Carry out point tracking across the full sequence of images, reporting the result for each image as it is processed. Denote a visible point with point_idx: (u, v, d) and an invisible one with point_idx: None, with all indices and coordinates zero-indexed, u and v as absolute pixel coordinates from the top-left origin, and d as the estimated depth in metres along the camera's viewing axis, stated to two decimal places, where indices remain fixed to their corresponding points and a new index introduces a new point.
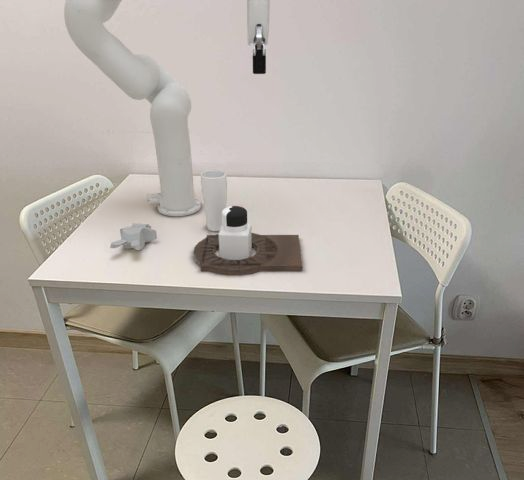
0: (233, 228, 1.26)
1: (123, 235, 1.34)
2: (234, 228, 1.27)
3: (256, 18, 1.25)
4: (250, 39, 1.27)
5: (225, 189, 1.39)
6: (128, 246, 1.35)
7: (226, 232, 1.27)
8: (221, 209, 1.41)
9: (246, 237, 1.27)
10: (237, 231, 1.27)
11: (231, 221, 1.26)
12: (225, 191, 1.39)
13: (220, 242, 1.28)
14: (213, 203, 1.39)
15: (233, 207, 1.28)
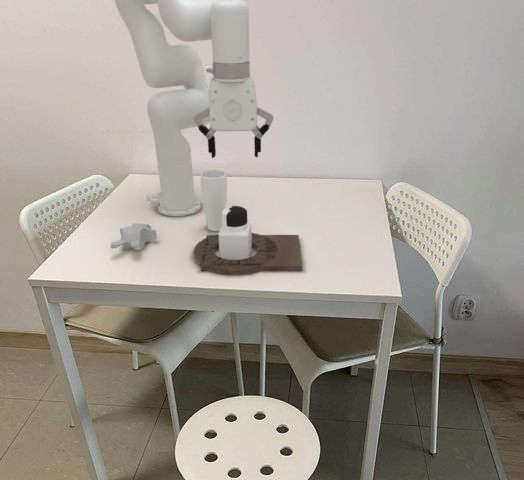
0: (233, 228, 1.26)
1: (123, 235, 1.34)
2: (234, 228, 1.27)
3: None
4: (256, 123, 1.15)
5: (225, 189, 1.39)
6: (128, 246, 1.35)
7: (226, 232, 1.27)
8: (221, 209, 1.41)
9: (246, 237, 1.27)
10: (237, 231, 1.27)
11: (231, 221, 1.26)
12: (225, 191, 1.39)
13: (220, 242, 1.28)
14: (213, 203, 1.39)
15: (233, 207, 1.28)
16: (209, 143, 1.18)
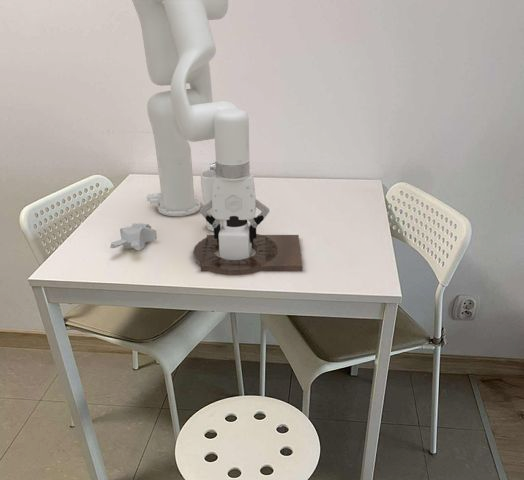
0: (233, 228, 1.26)
1: (123, 235, 1.34)
2: (234, 228, 1.27)
3: None
4: (255, 213, 1.25)
5: None
6: (128, 246, 1.35)
7: (226, 232, 1.27)
8: None
9: (246, 237, 1.27)
10: (237, 231, 1.27)
11: (231, 221, 1.26)
12: None
13: (220, 242, 1.28)
14: None
15: None
16: (215, 231, 1.29)
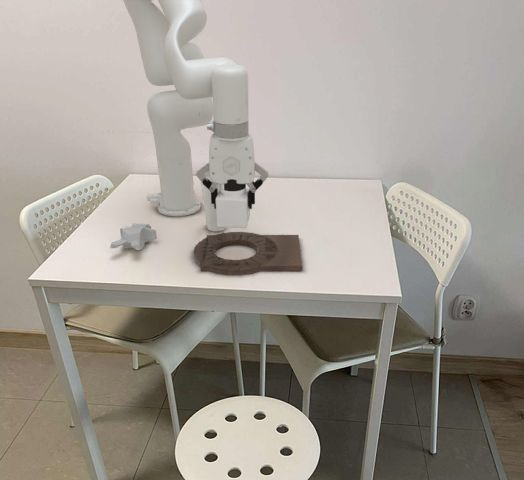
0: (230, 192, 1.22)
1: (123, 235, 1.34)
2: (232, 192, 1.22)
3: None
4: None
5: None
6: (128, 246, 1.35)
7: (223, 197, 1.23)
8: None
9: (244, 202, 1.22)
10: (235, 196, 1.23)
11: (228, 185, 1.21)
12: None
13: (217, 207, 1.24)
14: None
15: None
16: (212, 195, 1.24)
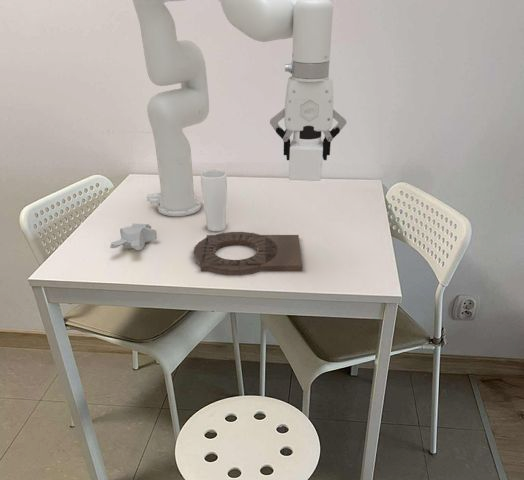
0: (306, 140, 1.14)
1: (123, 235, 1.34)
2: (308, 141, 1.15)
3: None
4: None
5: (225, 189, 1.39)
6: (128, 246, 1.35)
7: (298, 146, 1.15)
8: (221, 209, 1.41)
9: (321, 151, 1.15)
10: (310, 145, 1.15)
11: (305, 132, 1.14)
12: (225, 191, 1.39)
13: (291, 157, 1.16)
14: (213, 203, 1.39)
15: None
16: (285, 145, 1.17)
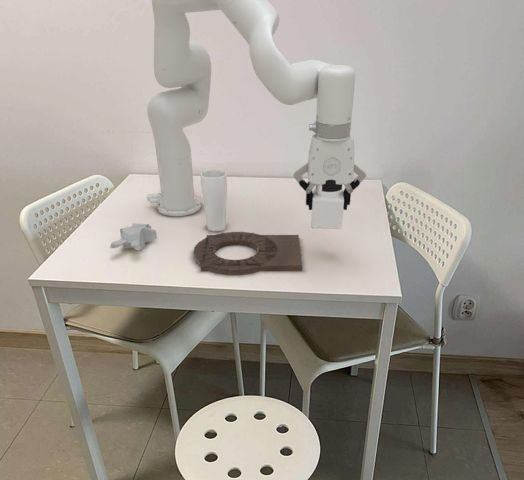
0: (328, 193, 1.21)
1: (123, 235, 1.34)
2: (330, 193, 1.21)
3: None
4: (352, 177, 1.20)
5: (225, 189, 1.39)
6: (128, 246, 1.35)
7: (321, 198, 1.22)
8: (221, 209, 1.41)
9: (342, 203, 1.22)
10: (332, 196, 1.22)
11: (327, 186, 1.20)
12: (225, 191, 1.39)
13: (314, 208, 1.23)
14: (213, 203, 1.39)
15: None
16: (308, 197, 1.24)
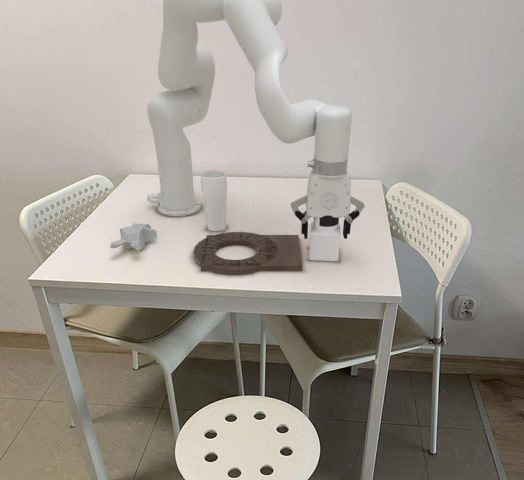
0: (325, 227, 1.26)
1: (123, 235, 1.34)
2: (327, 228, 1.26)
3: None
4: (349, 211, 1.25)
5: (225, 189, 1.39)
6: (128, 246, 1.35)
7: (318, 232, 1.27)
8: (221, 209, 1.41)
9: (338, 237, 1.27)
10: (329, 231, 1.27)
11: (324, 221, 1.26)
12: (225, 191, 1.39)
13: (311, 242, 1.28)
14: (213, 203, 1.39)
15: None
16: (303, 226, 1.29)
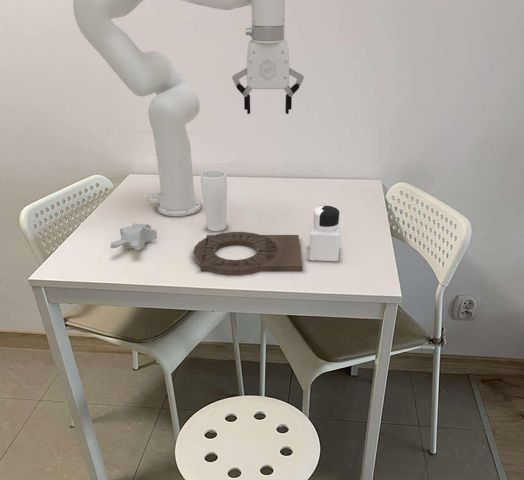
0: (325, 227, 1.26)
1: (123, 235, 1.34)
2: (327, 228, 1.26)
3: None
4: (288, 82, 1.29)
5: (225, 189, 1.39)
6: (128, 246, 1.35)
7: (318, 232, 1.27)
8: (221, 209, 1.41)
9: (338, 237, 1.27)
10: (329, 231, 1.27)
11: (324, 221, 1.26)
12: (225, 191, 1.39)
13: (311, 242, 1.28)
14: (213, 203, 1.39)
15: (325, 207, 1.27)
16: (245, 100, 1.32)
